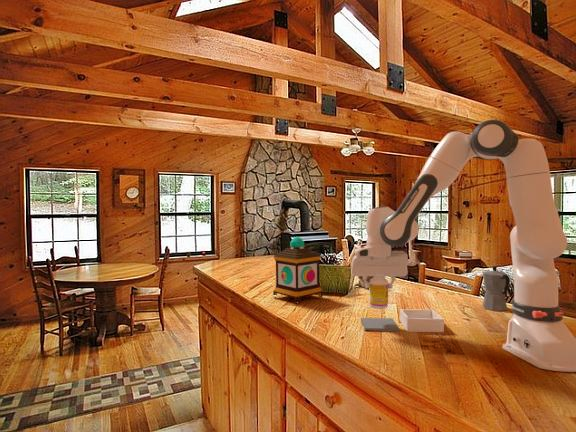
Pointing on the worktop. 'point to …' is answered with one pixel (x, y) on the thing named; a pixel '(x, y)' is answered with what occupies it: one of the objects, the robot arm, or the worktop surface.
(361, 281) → the stuffed squirrel
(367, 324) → the mat
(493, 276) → the coffeepot
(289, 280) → the decorative lantern
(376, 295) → the supplement bottle
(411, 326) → the bin
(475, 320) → the worktop surface
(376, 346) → the worktop surface
